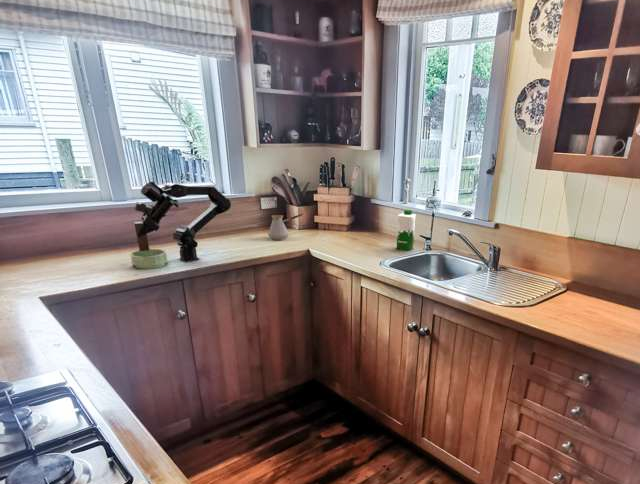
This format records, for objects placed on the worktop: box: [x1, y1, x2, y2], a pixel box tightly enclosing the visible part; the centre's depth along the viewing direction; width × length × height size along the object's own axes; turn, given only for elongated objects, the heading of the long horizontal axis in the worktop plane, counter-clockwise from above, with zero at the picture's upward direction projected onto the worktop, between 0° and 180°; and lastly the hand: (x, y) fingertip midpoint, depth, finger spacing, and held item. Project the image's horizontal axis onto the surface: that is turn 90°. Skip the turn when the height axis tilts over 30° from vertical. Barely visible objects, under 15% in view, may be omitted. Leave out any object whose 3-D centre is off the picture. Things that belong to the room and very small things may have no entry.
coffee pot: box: [267, 213, 304, 241], centre depth 260 cm, size 21×12×15 cm, turn 78°
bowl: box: [129, 248, 168, 270], centre depth 208 cm, size 15×15×6 cm
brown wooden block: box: [133, 221, 150, 251], centre depth 204 cm, size 4×4×12 cm
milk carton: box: [396, 209, 417, 252], centre depth 248 cm, size 9×9×20 cm
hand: (138, 235), depth 203 cm, fingers closed on brown wooden block, 4 cm apart
